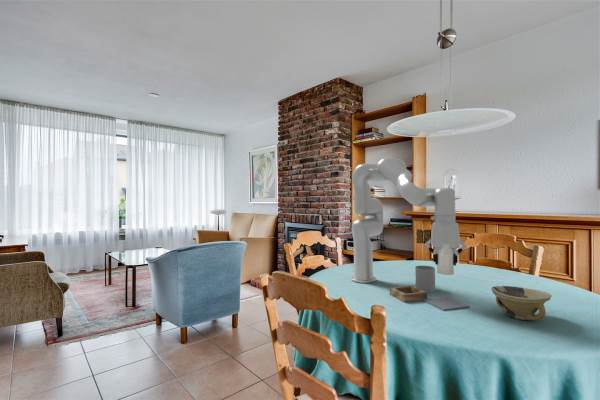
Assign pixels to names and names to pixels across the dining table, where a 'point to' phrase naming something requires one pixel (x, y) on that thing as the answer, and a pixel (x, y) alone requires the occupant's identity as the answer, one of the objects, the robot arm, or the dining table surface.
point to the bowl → (521, 302)
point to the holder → (408, 293)
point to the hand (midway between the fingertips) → (445, 264)
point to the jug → (445, 260)
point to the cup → (425, 278)
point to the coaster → (446, 303)
